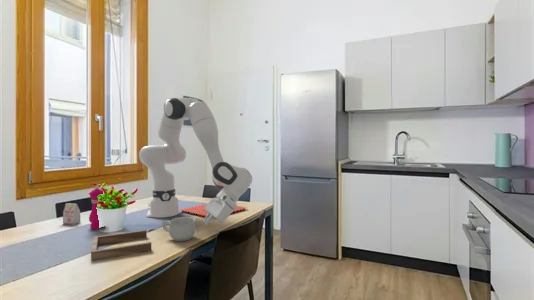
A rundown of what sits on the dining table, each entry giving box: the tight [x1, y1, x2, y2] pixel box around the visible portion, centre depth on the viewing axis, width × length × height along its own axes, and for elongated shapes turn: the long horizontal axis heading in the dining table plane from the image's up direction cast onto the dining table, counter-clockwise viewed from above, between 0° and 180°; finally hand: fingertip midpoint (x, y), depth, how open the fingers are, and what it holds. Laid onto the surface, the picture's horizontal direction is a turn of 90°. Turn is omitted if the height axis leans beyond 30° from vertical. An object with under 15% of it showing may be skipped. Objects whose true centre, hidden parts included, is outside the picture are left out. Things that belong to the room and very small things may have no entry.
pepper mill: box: [88, 185, 104, 230], centre depth 144 cm, size 7×7×20 cm
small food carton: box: [62, 202, 81, 225], centre depth 152 cm, size 4×7×10 cm, turn 77°
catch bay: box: [90, 229, 153, 262], centre depth 116 cm, size 19×20×3 cm
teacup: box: [162, 216, 196, 242], centre depth 126 cm, size 14×11×8 cm
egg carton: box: [179, 203, 248, 219], centre depth 177 cm, size 28×28×2 cm
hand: (204, 223), depth 131 cm, fingers closed
